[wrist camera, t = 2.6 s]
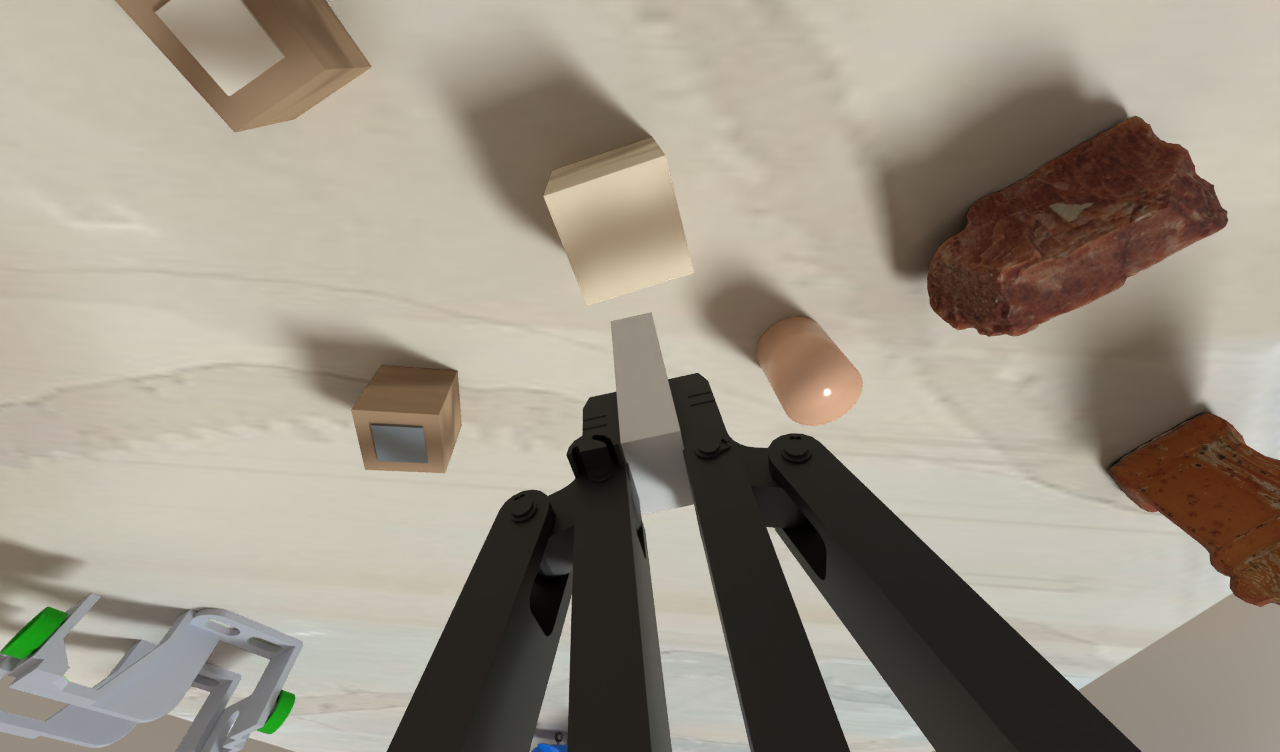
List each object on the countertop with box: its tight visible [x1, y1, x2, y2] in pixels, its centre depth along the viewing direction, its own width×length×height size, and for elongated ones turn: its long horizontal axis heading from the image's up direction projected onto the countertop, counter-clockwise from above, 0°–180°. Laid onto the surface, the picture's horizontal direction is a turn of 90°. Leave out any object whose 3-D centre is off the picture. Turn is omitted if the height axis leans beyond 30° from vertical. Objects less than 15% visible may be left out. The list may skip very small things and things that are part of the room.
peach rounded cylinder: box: [756, 316, 862, 426], centre depth 39 cm, size 6×6×7 cm
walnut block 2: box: [351, 365, 462, 473], centre depth 39 cm, size 6×6×6 cm
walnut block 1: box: [115, 0, 372, 132], centre depth 24 cm, size 6×6×6 cm
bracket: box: [0, 593, 303, 752], centre depth 53 cm, size 19×25×10 cm
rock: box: [927, 116, 1228, 337], centre depth 33 cm, size 18×6×9 cm, turn 127°
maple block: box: [543, 137, 694, 306], centre depth 31 cm, size 7×7×7 cm
